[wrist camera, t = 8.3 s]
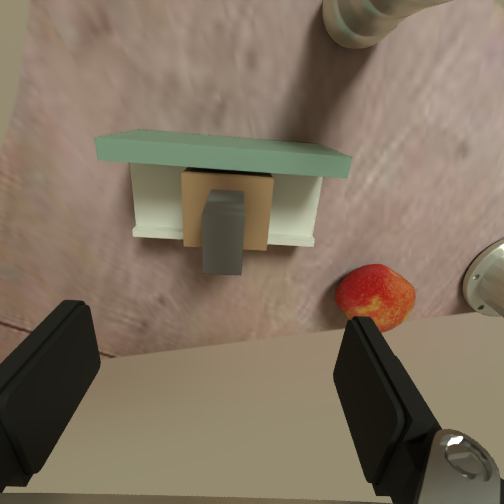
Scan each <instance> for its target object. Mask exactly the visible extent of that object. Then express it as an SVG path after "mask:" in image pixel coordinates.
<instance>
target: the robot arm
mask: <svg viewBox="0 0 504 504" xmlns="http://www.w3.org/2000/svg"><path fill="white" fill-rule="evenodd" d="M462 290H463V296H464V298H465V300H466V302H467V303H468V304H469V305H470V306H471V307H472V308H473V309H474V310H475V311H477V312H479V313H481V314H483V315H488V316H503V317H504V239H502V240H500V241H498V242H496V243H495V244H493V245H491V246H490V247H488V248H487V249H486V250H485V251H483V252H482V253H481V254H480V255H479V256H478V257H477V258H476V259H475V260H474V262H473V263H472V264H471V266H470V267H469V269H468V271H467V273H466V275H465V278H464V281H463V289H462ZM100 363H101V361H100V355H99V350H98V345H97V340H96V335H95V330H94V325H93V320H92V316H91V311H90V307H89V306H88V305H85V302H84V301H79V300H64V301H62V302H61V303H60V304H59V305H58V306H57V307H56V308H55V309H54V310H53V311H52V312H51V313H50V314H49V315H48V316H47V317H46V318H45V319H44V320H43V321H42V322H41V323H40V324H39V325H38V326H37V327H36V328H35V329H34V330H33V331H32V332H31V333H30V335H29V336H28V337H27V338H26V339H25V340H24V341H23V342H22V343H21V344H20V345H19V346H18V347H17V348H16V349H15V350H14V351H13V352H12V353H11V354H10V355H9V356H8V357H7V358H6V359H5V360H4V361H3V362H2V363H1V364H0V504H390V503H375V502H374V503H373V502H355V501H335V500H307V499H305V500H304V499H274V498H242V497H241V498H240V497H204V496H201V497H200V496H163V495H119V494H117V495H115V494H66V493H2V492H3V490H4V489H5V487H6V486H18V487H26V486H27V484H28V482H29V480H30V479H31V477H32V475H33V474H36V473H38V472H39V471H40V470H41V469H42V467H43V465H44V464H45V462H46V460H47V459H48V457H49V455H50V454H51V452H52V450H53V448H54V447H55V445H56V443H57V442H58V440H59V438H60V436H61V435H62V433H63V431H64V429H65V428H66V426H67V424H68V423H69V421H70V419H71V417H72V416H73V414H74V412H75V411H76V409H77V407H78V405H79V404H80V402H81V400H82V398H83V397H84V395H85V393H86V392H87V389H88V388H89V386H90V385H91V383H92V381H93V380H94V378H95V376H96V374H97V373H98V370H99V368H100ZM333 379H334V383H335V386H336V389H337V393H338V395H339V399H340V402H341V405H342V408H343V411H344V414H345V417H346V420H347V423H348V427H349V430H350V433H351V436H352V439H353V441H354V445H355V448H356V451H357V454H358V457H359V460H360V464H361V467H362V469H363V473H364V476H365V478H366V480H367V482H368V483H372V485H373V488H374V491H375V494H376V496H390V497H391V499H392V502H393V504H504V480H503V479H501V478H500V473H499V469H498V467H497V465H496V463H495V461H494V459H493V458H492V457H491V455H490V454H489V453H488V451H487V450H486V449H485V448H484V447H482V446H481V445H480V444H479V443H478V442H477V441H475V440H474V439H472V438H471V437H470V436H468V435H466V434H464V433H462V432H460V431H456V430H452V429H442V428H441V426H440V425H439V423H438V422H437V420H436V418H435V417H434V415H433V414H432V412H431V410H430V409H429V407H428V405H427V404H426V402H425V401H424V399H423V397H422V396H421V394H420V392H419V391H418V389H417V388H416V386H415V384H414V383H413V381H412V380H411V378H410V376H409V375H408V373H407V371H406V370H405V368H404V367H403V365H402V364H401V362H400V360H399V359H398V358H397V356H395V355H394V354H393V352H392V350H391V349H390V347H389V345H388V344H387V342H386V340H385V339H384V337H383V336H382V334H381V332H380V331H379V329H378V327H377V326H376V324H375V322H374V321H373V319H372V318H371V317H367V316H354V317H353V318H352V320H348V322H347V325H346V328H345V332H344V336H343V339H342V343H341V346H340V350H339V354H338V358H337V361H336V364H335V368H334V372H333Z"/></svg>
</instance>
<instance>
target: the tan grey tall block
mask: <svg viewBox="0 0 504 504" xmlns="http://www.w3.org/2000/svg"><path fill="white" fill-rule="evenodd" d="M181 183H182V213H183V243H184V247H202V274H222V275H241V272H242V257H243V250H263V251H267V242H268V232H269V223H270V214H271V204H272V195H273V185H274V179H273V177H272V175H271V173H266V172H252V171H238V170H225V169H211V168H198V167H187V168H186V169H185V170H184V171H183V172H182V173H181Z"/></svg>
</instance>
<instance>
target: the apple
mask: <svg viewBox="0 0 504 504" xmlns="http://www.w3.org/2000/svg"><path fill="white" fill-rule="evenodd" d="M415 298H416V296H415V289H414V287H413V286H412V285H411V284H410V283H409V282H408V281H407V280H405V279H404V278H403V277H402V276H401V275H399V274H398V273H396V272H394V271H393V270H391V269H390V268H388V267H386V266H384V265H382V264H371V265H366V266H362V267H360V268H357V269H356V270H354V271H352V272H351V273H349V274H348V275H347V276H346V277H345V278H344V279H343V280H342V281H341V283H340V284H339V286H338V288H337V290H336V293H335V300H336V302H337V305H338V306H339V307H340V309H341V310H342V311H343V312H344V313H345V315H346V316H347V317H348V318H349V319H350V320H352V318H353V317H354V316H367V317H371V318H372V319H373V321H374V322H375V324H376V326H377V327H378V329H379V331H380V332H381V333H383V332H386V331H389V330H391V329H393V328H395V327H397V326H398V325H400V324H401V323H402V322H403V321H404V320H405V319H406V318H407V317H408V316H409V314H410V313H411V311H412V309H413V307H414V304H415Z"/></svg>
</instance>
